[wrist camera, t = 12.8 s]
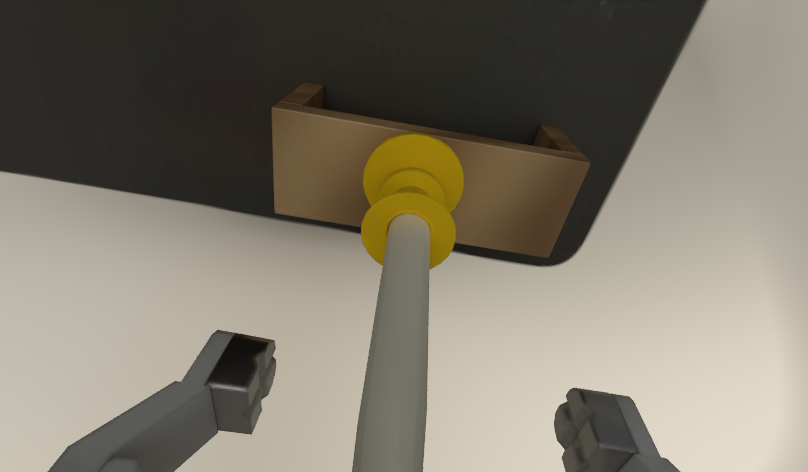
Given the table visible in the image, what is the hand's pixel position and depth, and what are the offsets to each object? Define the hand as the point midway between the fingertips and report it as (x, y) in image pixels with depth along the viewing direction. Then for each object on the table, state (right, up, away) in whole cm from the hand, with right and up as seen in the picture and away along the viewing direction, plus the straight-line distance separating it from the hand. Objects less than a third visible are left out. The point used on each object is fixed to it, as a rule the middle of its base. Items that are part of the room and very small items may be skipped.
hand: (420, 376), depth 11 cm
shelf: (+1, +10, +15) cm, 18 cm away
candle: (0, +7, +10) cm, 12 cm away
